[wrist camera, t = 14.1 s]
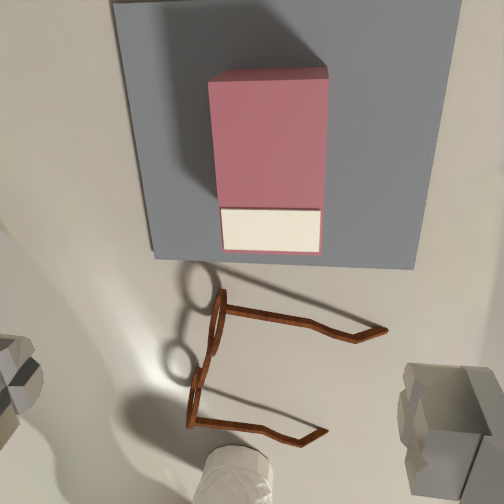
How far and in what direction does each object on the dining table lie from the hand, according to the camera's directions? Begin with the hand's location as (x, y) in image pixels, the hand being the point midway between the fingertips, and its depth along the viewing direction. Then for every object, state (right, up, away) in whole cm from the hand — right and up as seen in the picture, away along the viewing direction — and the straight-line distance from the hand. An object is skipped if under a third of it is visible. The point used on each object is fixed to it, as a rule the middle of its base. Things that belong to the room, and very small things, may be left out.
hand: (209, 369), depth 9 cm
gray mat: (+3, +9, +17) cm, 20 cm away
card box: (+2, +9, +17) cm, 19 cm away
